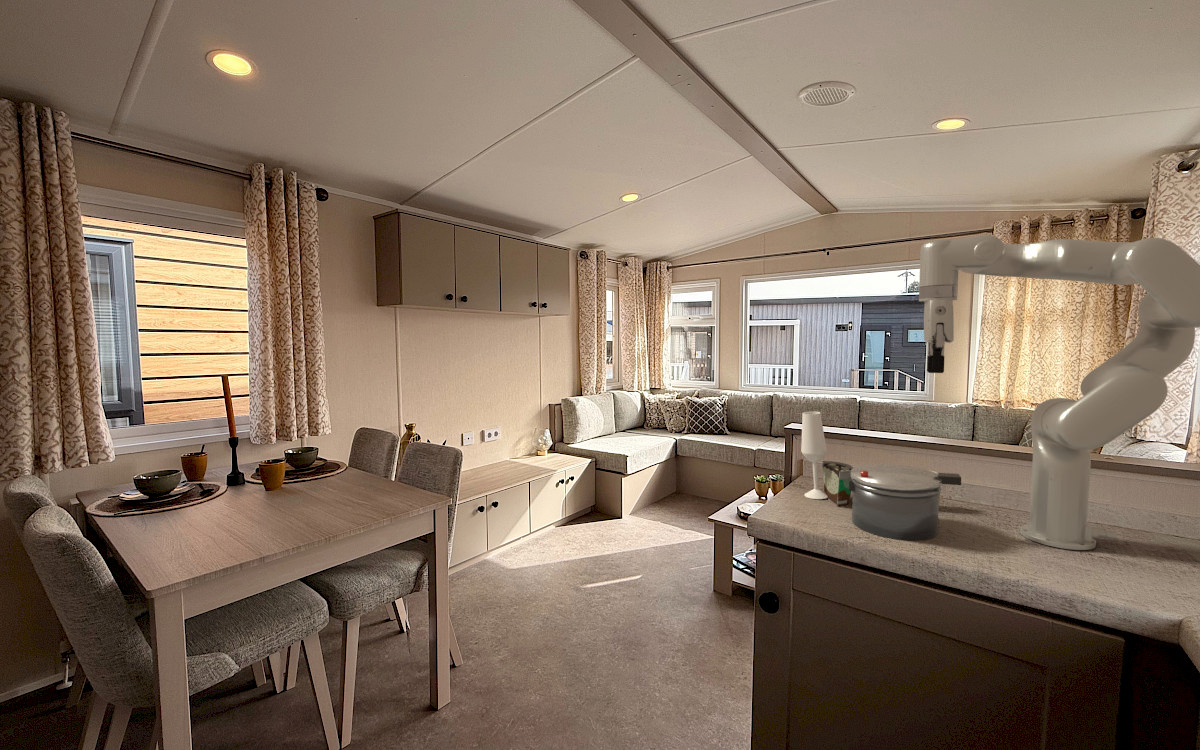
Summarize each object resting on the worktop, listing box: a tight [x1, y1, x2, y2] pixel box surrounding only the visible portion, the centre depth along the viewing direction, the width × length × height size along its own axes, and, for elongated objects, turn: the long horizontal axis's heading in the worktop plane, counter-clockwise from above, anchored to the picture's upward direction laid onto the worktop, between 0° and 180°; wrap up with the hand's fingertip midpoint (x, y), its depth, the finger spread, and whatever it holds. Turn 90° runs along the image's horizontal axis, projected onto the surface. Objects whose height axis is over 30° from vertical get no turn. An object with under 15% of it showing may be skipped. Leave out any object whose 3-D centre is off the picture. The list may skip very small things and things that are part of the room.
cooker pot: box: [849, 477, 942, 542], centre depth 123 cm, size 19×19×11 cm
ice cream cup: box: [821, 460, 854, 508], centre depth 141 cm, size 12×6×10 cm, turn 178°
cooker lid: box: [851, 463, 962, 491], centre depth 122 cm, size 22×19×2 cm
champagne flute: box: [800, 411, 828, 500], centre depth 145 cm, size 7×7×24 cm
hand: (935, 372), depth 120 cm, fingers closed
